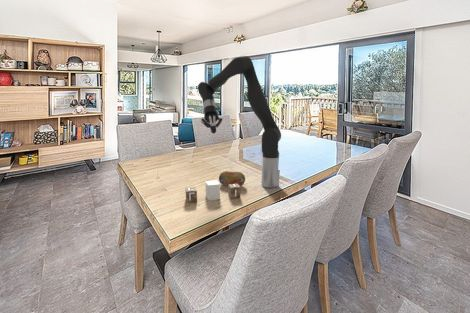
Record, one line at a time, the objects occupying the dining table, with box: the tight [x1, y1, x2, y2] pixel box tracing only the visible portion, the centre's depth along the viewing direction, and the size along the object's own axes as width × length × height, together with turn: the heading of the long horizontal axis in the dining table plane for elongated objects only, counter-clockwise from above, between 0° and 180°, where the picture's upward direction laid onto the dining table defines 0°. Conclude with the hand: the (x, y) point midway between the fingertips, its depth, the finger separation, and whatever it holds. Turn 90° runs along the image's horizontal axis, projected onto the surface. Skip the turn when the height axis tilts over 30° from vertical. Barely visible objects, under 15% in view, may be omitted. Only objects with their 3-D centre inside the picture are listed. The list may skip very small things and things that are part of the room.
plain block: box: [205, 179, 221, 201], centre depth 136 cm, size 6×6×8 cm
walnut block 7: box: [185, 186, 198, 204], centre depth 132 cm, size 5×5×6 cm
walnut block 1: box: [227, 184, 241, 200], centre depth 138 cm, size 5×5×6 cm
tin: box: [218, 170, 246, 187], centre depth 153 cm, size 15×3×8 cm, turn 76°
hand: (213, 132), depth 151 cm, fingers closed
